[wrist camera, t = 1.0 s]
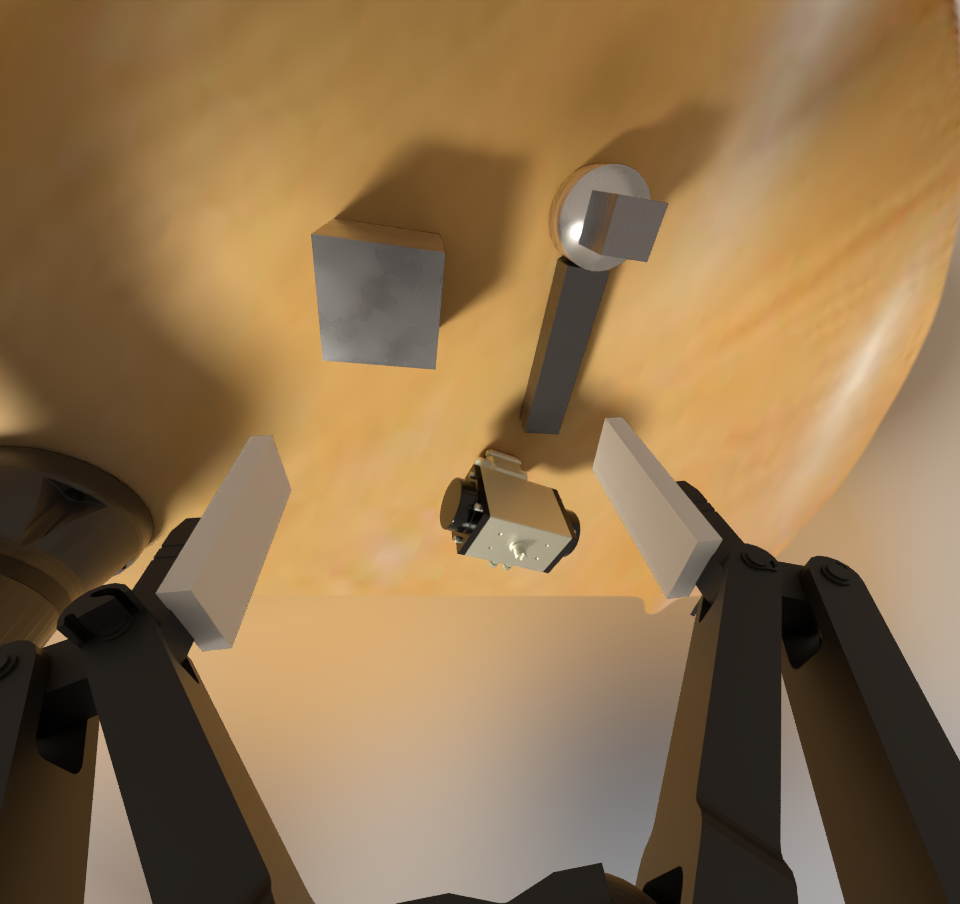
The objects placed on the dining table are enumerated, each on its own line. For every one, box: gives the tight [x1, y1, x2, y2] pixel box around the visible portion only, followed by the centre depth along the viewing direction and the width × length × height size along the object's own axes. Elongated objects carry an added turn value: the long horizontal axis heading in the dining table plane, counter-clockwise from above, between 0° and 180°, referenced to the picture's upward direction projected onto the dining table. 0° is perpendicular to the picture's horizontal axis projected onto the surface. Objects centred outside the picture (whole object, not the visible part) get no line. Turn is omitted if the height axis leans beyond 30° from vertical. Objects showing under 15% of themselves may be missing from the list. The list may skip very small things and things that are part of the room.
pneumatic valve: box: [440, 449, 580, 573], centre depth 36 cm, size 6×12×12 cm, turn 63°
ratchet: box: [520, 164, 668, 434], centre depth 29 cm, size 6×20×7 cm, turn 172°
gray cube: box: [311, 218, 445, 369], centre depth 26 cm, size 7×7×7 cm
